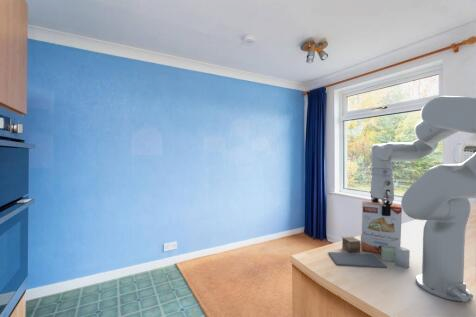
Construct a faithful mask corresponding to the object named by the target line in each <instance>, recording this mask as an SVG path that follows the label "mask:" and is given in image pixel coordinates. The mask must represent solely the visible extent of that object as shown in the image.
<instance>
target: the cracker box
mask: <svg viewBox="0 0 476 317" xmlns="http://www.w3.org/2000/svg"><path fill="white" fill-rule="evenodd" d="M382 206H383V203H382V202H380V203H375V202H372V201H362V206H361V208H362V210H361V211H362V212H361V235H362V239H361V238H360V248H361V250H362V251H367V252H371V253H376V254H381V246H383V247H389V248H393V249H394V251H395V248H396V247H401V242H402V241H401V237H402V212H403V209H402V206H401V205H400V204H394V203H392V206H391V216H382Z"/></svg>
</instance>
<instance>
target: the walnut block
mask: <svg viewBox="0 0 476 317" xmlns="http://www.w3.org/2000/svg"><path fill="white" fill-rule="evenodd" d="M341 238H342V240H341V241H342V242H341V243H342V249H343V250H345V251H346V253H361V240H359V239H357V238H356V237H354V236H342V237H341Z"/></svg>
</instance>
